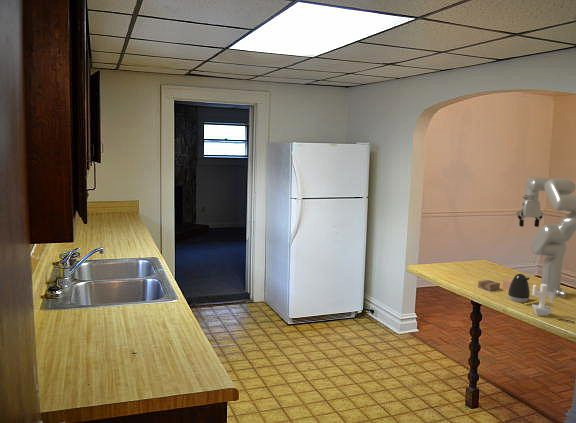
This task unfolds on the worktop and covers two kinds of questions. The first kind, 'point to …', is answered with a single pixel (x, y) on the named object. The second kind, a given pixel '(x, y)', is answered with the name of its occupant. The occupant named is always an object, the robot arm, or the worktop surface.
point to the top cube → (506, 284)
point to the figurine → (542, 300)
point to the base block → (488, 285)
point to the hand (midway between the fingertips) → (528, 226)
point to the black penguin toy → (519, 289)
